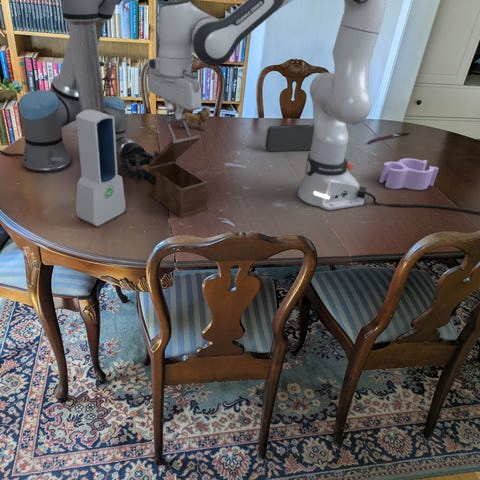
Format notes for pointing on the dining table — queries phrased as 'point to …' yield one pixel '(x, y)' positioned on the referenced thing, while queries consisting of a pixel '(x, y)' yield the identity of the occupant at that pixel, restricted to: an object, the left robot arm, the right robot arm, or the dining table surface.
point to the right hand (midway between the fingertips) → (173, 116)
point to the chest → (178, 189)
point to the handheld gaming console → (289, 137)
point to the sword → (386, 137)
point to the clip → (408, 174)
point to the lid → (174, 143)
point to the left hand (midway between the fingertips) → (168, 177)
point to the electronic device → (98, 169)
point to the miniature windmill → (108, 76)
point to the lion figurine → (197, 117)
